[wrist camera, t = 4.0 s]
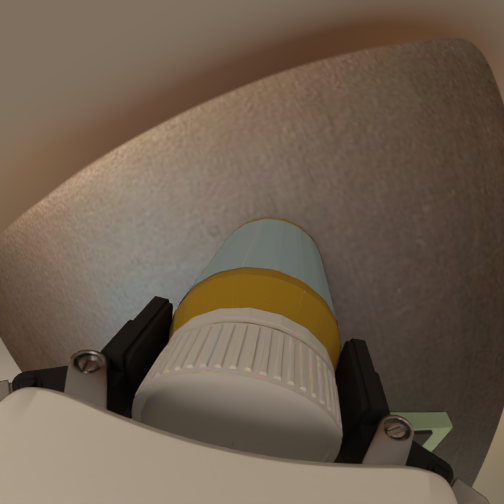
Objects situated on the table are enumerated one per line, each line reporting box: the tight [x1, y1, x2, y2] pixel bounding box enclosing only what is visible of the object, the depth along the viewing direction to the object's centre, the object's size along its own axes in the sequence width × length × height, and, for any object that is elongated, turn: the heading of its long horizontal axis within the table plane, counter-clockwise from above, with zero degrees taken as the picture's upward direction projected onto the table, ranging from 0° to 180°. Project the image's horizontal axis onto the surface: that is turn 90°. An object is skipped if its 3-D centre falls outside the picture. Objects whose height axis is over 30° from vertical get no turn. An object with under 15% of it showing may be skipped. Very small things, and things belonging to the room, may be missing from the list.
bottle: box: [132, 218, 343, 463], centre depth 14 cm, size 7×7×15 cm
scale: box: [390, 412, 453, 452], centre depth 25 cm, size 16×12×3 cm
